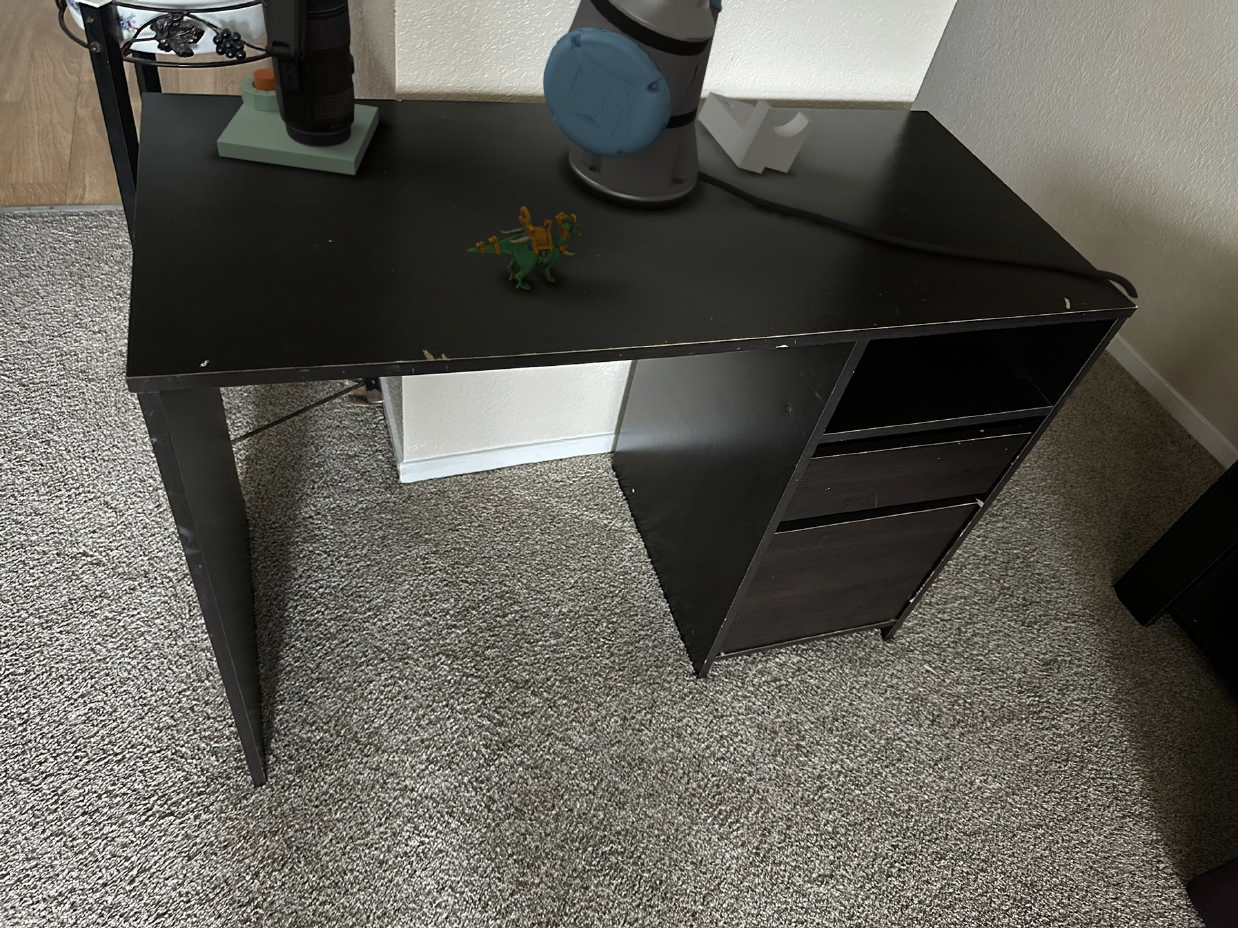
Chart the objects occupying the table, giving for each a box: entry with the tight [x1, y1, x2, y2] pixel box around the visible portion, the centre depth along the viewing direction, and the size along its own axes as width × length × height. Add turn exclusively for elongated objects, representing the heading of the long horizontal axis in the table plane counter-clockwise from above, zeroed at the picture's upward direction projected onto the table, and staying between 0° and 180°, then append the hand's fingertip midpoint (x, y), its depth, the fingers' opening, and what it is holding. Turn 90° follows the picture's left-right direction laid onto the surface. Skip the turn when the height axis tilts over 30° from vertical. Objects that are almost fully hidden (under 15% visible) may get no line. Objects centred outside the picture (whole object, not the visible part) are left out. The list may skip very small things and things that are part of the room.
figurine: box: [466, 205, 582, 290], centre depth 81 cm, size 3×12×8 cm, turn 122°
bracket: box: [697, 91, 815, 174], centre depth 109 cm, size 13×7×8 cm, turn 19°
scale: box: [216, 74, 380, 176], centre depth 95 cm, size 14×13×4 cm
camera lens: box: [260, 0, 356, 147], centre depth 89 cm, size 8×8×15 cm
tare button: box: [252, 68, 275, 91], centre depth 96 cm, size 3×3×2 cm
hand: (316, 93), depth 91 cm, fingers open, 13 cm apart
